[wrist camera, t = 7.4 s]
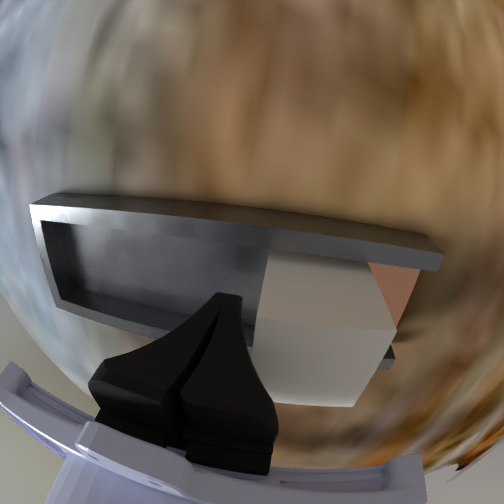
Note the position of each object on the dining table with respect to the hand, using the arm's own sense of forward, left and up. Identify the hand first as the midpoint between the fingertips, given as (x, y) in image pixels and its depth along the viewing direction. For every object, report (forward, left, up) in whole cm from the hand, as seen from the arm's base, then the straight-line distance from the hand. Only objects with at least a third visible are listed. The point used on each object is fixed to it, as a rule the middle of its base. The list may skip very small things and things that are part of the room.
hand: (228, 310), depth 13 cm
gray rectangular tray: (0, +2, -3) cm, 4 cm away
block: (0, -4, -3) cm, 5 cm away
